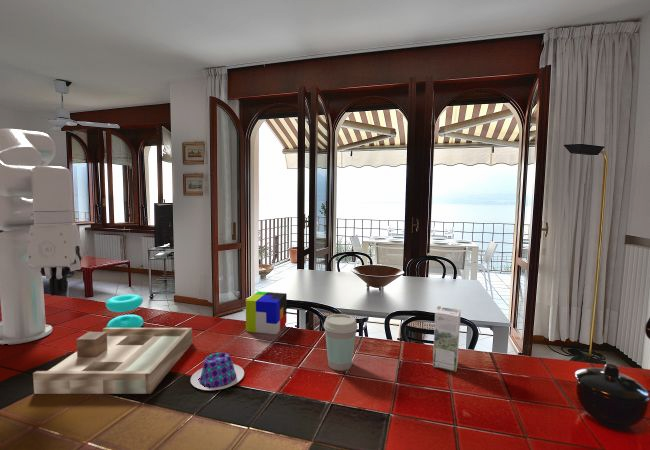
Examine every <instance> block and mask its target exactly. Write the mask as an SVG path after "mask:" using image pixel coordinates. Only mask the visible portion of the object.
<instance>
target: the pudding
mask: <svg viewBox="0 0 650 450" xmlns="http://www.w3.org/2000/svg"><path fill="white" fill-rule="evenodd" d="M244 377H245V371H244V369H243V368H242V367H241V366H240V365H238V364H235V363H233V359H232V357H231V355H230V354H228V353H227V352H222V351H221V352H216V353H215V352H213V353H211V354H210V355H208V356H207V355H206V357H205V358H204V361H203V365H202V367H201V368H200V369H198V370H196V372H194V373H192V376H191V377H190V384H191V385H192V386H193V387H194V388H197V389H199V390H201V391H216V390H224V389H227V388H230V387H232V386H234V385H236V384H238V383H239V382H240V381H241V380H242V379H243V378H244ZM199 378H200V379H199ZM198 379H199V380H198ZM204 386H205V387H204ZM209 387H210V388H209Z"/></svg>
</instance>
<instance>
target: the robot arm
mask: <svg viewBox="0 0 650 450" xmlns="http://www.w3.org/2000/svg"><path fill="white" fill-rule="evenodd" d="M54 141H55V140H54V139H53V138H52V137H51V136H50V135H48V134H47V133H45V132H41V131H35V130H34V131H33V130H25V129H24V130H23V129H16V128H0V231H2V232H0V309H1V321H0V345H4V344H8V346H9V345H19V344H25V343H29V342H33V341H36V340H40V339H42V338H44V337H46V336H49V335H50V334H51V333H52V332H53V326H52V325H50V324H46V310H45V298H44V297H45V295H44V293H45V292H44V291H45V290H44V280H43V279H44V278H43V274H44V275H45V277H46V279H47V280H49V283H48V284H49V291H50V292H49V294H50V296H60V295H63V294H66V293H67V292H68V280H67V278H68V277H69V276H70V274H72V272H75V271H77V270H80V269H82V264H81V262H82V260H83V249H82V248H83V247H82V241H81V235H80V232H79V231H80V230H79V228H78V225H77V223H75V221H74V204H73V185H72V173H71V171H70V169H69V168H66V167H63V166H54V165H49V164H50V163H51V162H52V161H53V159H54V158H55V156H56V152H57V151H56V144H55V142H54Z"/></svg>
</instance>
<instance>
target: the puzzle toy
mask: <svg viewBox="0 0 650 450" xmlns="http://www.w3.org/2000/svg"><path fill="white" fill-rule="evenodd" d="M287 297H288V296H287V293H286V292H285V293H283V292H271V291H270V292H269V291H257V292H256V293H254V294H252V295H251V296H250V297H248V298H246V300H245V332H249V333H261V334H270V335H277V334H278V333H279V332H280V331H281V330H282V329H283V327H284V326H285V325H286V324H287V312H288V311H287V305H288V304H287V301H288V300H287Z"/></svg>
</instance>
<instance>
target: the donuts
mask: <svg viewBox="0 0 650 450" xmlns="http://www.w3.org/2000/svg"><path fill="white" fill-rule="evenodd" d="M143 301H144V300H143V298H142V295H141V296H140V295H139V294H131V293H130V294H129V293H128V294H119V295H116V296H113V297H111V298H109V299H108V300H106V302H105V307H106V309H107V310H109V311H111V312H115V313H124V312H130V311H132V310H136V309H137V308H140V306H141V305H142V304H143ZM143 324H144V319H143V317H142V316H140V315H137V314H124V315H123V314H122V315H118V316H116V317H114V318H112V319H111V320H109V321H108V323H107V324H106V328H142V326H143Z"/></svg>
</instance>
